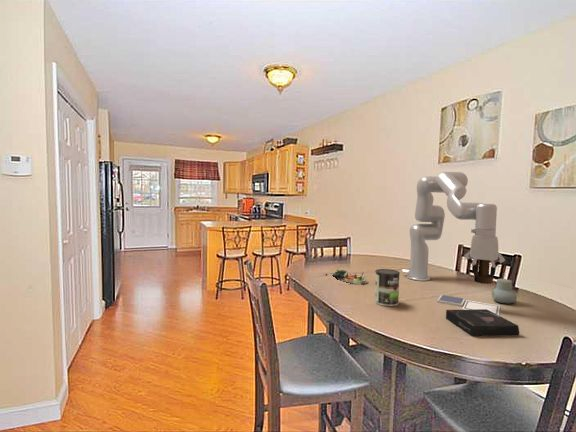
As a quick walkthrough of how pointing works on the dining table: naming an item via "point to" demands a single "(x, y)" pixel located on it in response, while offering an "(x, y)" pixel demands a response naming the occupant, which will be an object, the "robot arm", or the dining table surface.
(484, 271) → the brown wooden tall piece
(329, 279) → the dining table surface
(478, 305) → the paper sheet
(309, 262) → the dining table surface
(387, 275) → the coffee can
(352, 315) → the dining table surface
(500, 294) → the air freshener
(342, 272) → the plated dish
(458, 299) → the pad
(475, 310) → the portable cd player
